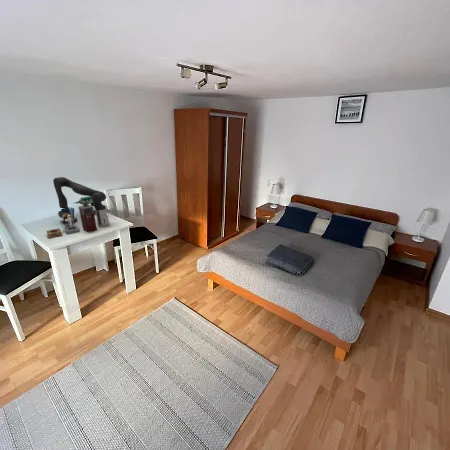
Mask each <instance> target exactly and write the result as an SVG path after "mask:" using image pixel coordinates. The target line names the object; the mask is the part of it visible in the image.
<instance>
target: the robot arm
mask: <svg viewBox="0 0 450 450" xmlns="http://www.w3.org/2000/svg"><path fill="white" fill-rule="evenodd" d="M52 181H53V182H52V183H53V187H54V189H55V193H56V195H57V199H58V205H59V208H60V209H65V210H59V211H58V213H57V215H58V217H59V218H61V219H62V220H60V223H61V224H63V225H65V224H66V225H67V226H69V223H68V218H67V215H71V217H72V222H73V225H75V224H76V223H77V222H78V217H75V218H74V217H73V216H72V212H71V210H70V208H69V206H68V200H67V197H66V195H65V194H64V193H63V190H62V189H63V188H64V187H66V188H69V189H71V191H73V192H74V193H75V194H78V195H80V196H83V197H88V196H92V201H93V205H94V206H93V208H94V210H95V211H96V215H95V216H96V220H97V222H96V223H97V226H98V227H99V228H106V227H109V226H110V220H109V215H108V211H107V207H106V205H105V204H103V202H105V200H106V199H107V195H106V193H104V192H102V191H100V190H97V189H93V188H90V187H88V186H86V185H83V184H80V183H78V182H75V181H72V180H70V179H69V178H66V177H65V176H61V177H60V176H59V177H55V178H53V179H52ZM106 211H107V212H106Z"/></svg>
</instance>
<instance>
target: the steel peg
mask: <svg viewBox="0 0 450 450" xmlns="http://www.w3.org/2000/svg"><path fill="white" fill-rule="evenodd" d="M71 216H72V214H71V215H67V218H68V224H69V225H68V226H69V227H70V230H72V229H74V226H75V225H74V223H73V222H72V217H73V216H72V217H71Z"/></svg>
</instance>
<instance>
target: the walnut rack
mask: <svg viewBox="0 0 450 450" xmlns="http://www.w3.org/2000/svg"><path fill="white" fill-rule="evenodd" d="M46 235H47V237H48V239H53V238H59V237H62V236H63V232H62V230H61V228H59V227H58V228H53V229H48V230H46Z"/></svg>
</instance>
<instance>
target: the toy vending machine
mask: <svg viewBox="0 0 450 450" xmlns="http://www.w3.org/2000/svg"><path fill="white" fill-rule="evenodd" d="M78 210H79V215H80V219H81V224H82V229H83V231H84V232H86V233H87V232H88V233H92V232H94V231H97V230H98V228H97V222H96V218H95V216H96V215H94V211H93V210H94V206H91V204H88V202H86V201H83V202H82V204H81V205H79V206H78Z"/></svg>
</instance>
